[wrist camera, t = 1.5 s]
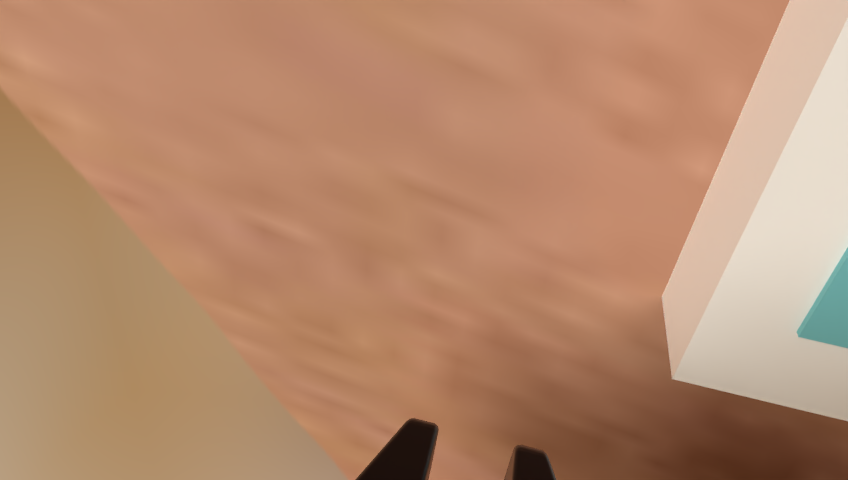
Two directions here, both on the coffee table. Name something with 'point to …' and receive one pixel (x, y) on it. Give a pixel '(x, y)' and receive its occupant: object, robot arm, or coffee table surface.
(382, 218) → the coffee table surface
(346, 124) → the coffee table surface
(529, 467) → the robot arm
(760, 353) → the carton
